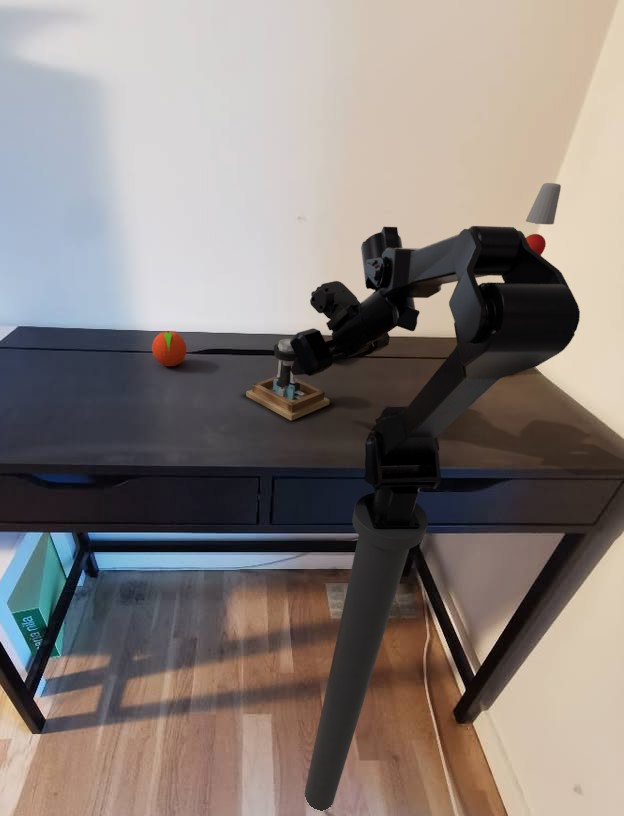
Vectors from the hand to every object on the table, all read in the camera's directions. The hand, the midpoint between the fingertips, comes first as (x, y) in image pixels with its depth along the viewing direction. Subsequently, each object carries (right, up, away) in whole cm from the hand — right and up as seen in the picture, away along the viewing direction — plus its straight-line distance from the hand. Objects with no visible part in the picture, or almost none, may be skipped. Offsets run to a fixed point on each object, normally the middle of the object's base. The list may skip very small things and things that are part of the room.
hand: (311, 365), depth 83 cm
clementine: (-27, +4, +19) cm, 33 cm away
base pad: (-4, -5, +8) cm, 10 cm away
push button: (-4, -4, +7) cm, 9 cm away
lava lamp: (+42, +5, +25) cm, 49 cm away
